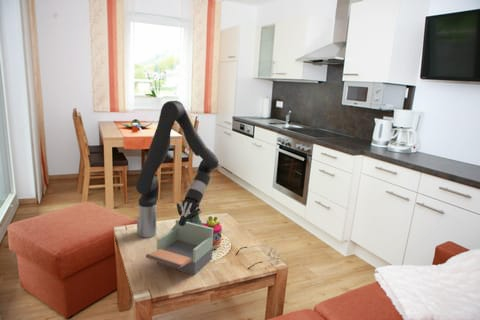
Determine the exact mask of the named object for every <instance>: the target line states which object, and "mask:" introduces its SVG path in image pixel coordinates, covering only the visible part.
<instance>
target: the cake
mask: <svg viewBox="0 0 480 320" xmlns="http://www.w3.org/2000/svg"><path fill="white" fill-rule="evenodd" d="M202 226H206V227H210V228H213V246H212V251H214V250H213V249H216V250H218V249H217V248H219V247H220V248H221V242H222V240H223V239H222V233H223V230H222V229H223V227H222V224H221V222H220V221H218V217H217V216H214V217H213V216H211V215H210V216H208V218H207V219H206V222H204V224H203V225H202ZM220 248H219V249H220Z"/></svg>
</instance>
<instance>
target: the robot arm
mask: <svg viewBox="0 0 480 320" xmlns="http://www.w3.org/2000/svg"><path fill="white" fill-rule="evenodd" d="M175 122H176V123H177V124H178V125H179V127H180V128H181V130H182V132H183V135H184V138H185V141H186V144H187V145H188V147H189V149H191V151H192V152H193V154H194V155H195V156H196V157H200V158H201V161H200V163H199V165H198V168H197V172H196V175H195V176H194V178H193V180H192V183H190V186H189V188H188V190H187V192H186V194H185V196H184V200H182V202H181V203H176V209H177V213H178V215H179V216H180V218H179V219H178V220H179V225H180V226H184V225H185V224H186V221H187V219H192V218H194V217H195V216H197V215H198V214H201V213H202V210H201V208H200V204H201V202H202V200H203V197H204V195H205V194H206V190H207V187H208V186H209V185H208V184H209V182H210V179H211V176H210V175H211V172H213V170H215V169H217V168H218V166H219V159H218V157H217V155H216V154H215V153H214V152H213V151H212V150H211V149H210V148H208V146H207V145H206V144H205V142H204V141H203V139H202V138H201V136H200V135H199V133H198V132H197V130H196V128H195V126H194V125H193V122H192V121H191V119H190V117H189V115H188V112H187V110H186V107H185V106H184V104H183V103H182V102H181V101H179V100H170V101H166V102H164V103H163V105H162V107H161V110H160V113H159V117H158V122H157V126H156V129H155V131H154V135H153V138H152V140H151V142H150V146H149V147H148V148H149V149H148V151H147V155H146V157H145V159H144V160H145V161H144V163H143V166H142V169H141V171H140V173H139V175H138V177H137V179H136V182H135V189H136V191H137V193H139V194H140V195H141V196H140V197H139V199H138V217H137V218H136V234H137V235H138V236H139V237H141V238H152V237H155V236H156V235H157V202H158V197H159V191H160V190H159V186H160V185H159V179H158V177H157V176H156V173H157V171H158V170H159V168H160V167H161V166H162V164H163V163H164V161H165V160H166V157H167V155H168V153H169V150H170V147H171V132H172V129H173V127H174V123H175Z"/></svg>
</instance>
